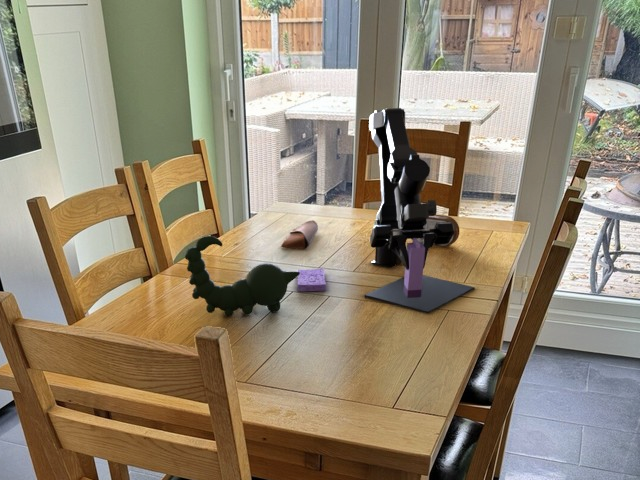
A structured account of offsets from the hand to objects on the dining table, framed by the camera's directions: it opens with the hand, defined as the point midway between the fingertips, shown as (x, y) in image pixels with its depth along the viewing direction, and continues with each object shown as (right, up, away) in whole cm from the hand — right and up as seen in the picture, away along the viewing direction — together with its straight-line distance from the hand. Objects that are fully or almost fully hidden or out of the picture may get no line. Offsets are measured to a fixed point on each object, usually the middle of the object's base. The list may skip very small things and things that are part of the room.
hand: (415, 268), depth 164 cm
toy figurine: (-39, -10, +2) cm, 40 cm away
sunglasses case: (-25, +23, +50) cm, 60 cm away
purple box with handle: (0, -5, +5) cm, 7 cm away
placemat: (+3, -3, +10) cm, 11 cm away
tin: (+13, +19, +43) cm, 49 cm away
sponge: (-23, +1, +18) cm, 29 cm away
